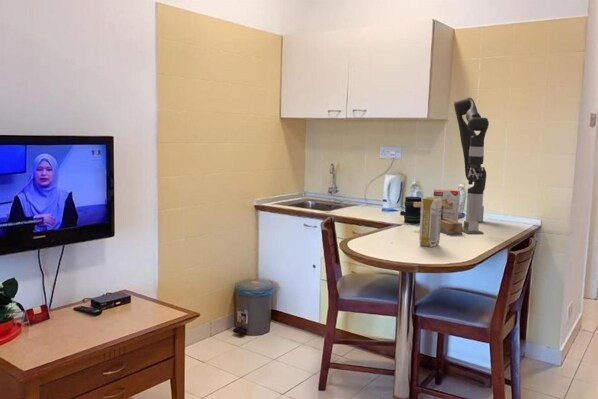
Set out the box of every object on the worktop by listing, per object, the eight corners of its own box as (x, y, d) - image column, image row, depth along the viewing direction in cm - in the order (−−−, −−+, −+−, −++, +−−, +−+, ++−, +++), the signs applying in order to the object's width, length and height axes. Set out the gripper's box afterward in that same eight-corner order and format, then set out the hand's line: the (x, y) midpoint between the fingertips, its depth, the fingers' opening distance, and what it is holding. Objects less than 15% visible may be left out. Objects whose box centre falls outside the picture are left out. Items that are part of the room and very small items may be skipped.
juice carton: (425, 242, 257) (428, 194, 254) (441, 245, 252) (443, 195, 249) (417, 245, 250) (419, 195, 246) (432, 248, 245) (435, 197, 242)
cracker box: (431, 224, 306) (433, 189, 304) (433, 222, 312) (435, 188, 309) (455, 227, 300) (458, 190, 297) (458, 225, 305) (460, 189, 302)
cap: (473, 229, 288) (474, 220, 288) (478, 231, 283) (479, 222, 283) (463, 229, 287) (464, 220, 286) (468, 231, 282) (468, 222, 282)
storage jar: (419, 221, 317) (420, 196, 315) (421, 224, 307) (423, 198, 305) (402, 220, 318) (404, 196, 316) (404, 223, 308) (405, 198, 306)
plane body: (444, 227, 298) (445, 216, 297) (462, 234, 278) (463, 223, 277) (430, 227, 296) (431, 217, 296) (447, 235, 276) (448, 223, 276)
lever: (442, 217, 295) (443, 201, 294) (445, 218, 292) (446, 202, 291) (412, 217, 292) (413, 201, 291) (414, 218, 289) (415, 202, 288)
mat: (473, 230, 291) (473, 228, 291) (483, 233, 281) (483, 232, 281) (458, 230, 289) (459, 229, 289) (468, 234, 280) (468, 232, 279)
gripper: (463, 154, 286) (461, 184, 288) (476, 156, 272) (475, 187, 274) (475, 154, 287) (473, 183, 289) (490, 156, 273) (488, 186, 275)
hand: (474, 185), depth 282 cm, fingers open, 8 cm apart
